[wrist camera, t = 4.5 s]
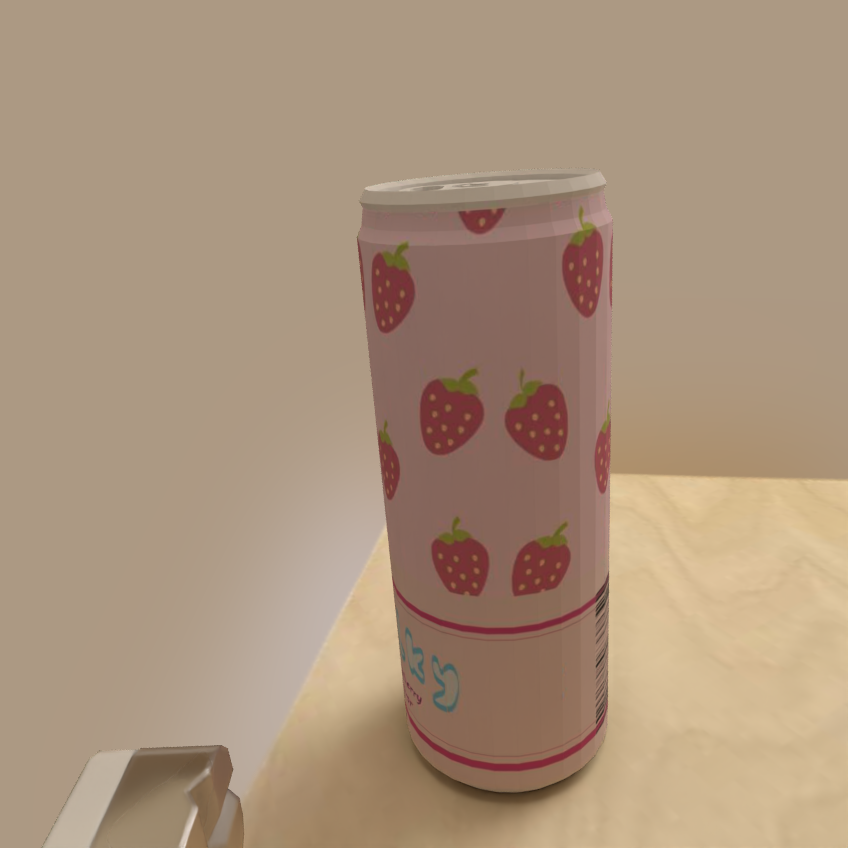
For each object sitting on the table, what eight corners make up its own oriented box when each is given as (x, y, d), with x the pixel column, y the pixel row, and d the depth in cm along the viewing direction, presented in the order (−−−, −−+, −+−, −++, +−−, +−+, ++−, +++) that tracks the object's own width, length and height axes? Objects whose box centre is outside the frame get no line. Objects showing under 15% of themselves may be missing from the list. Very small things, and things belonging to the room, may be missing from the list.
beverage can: (382, 689, 23) (322, 187, 18) (544, 637, 25) (534, 165, 20) (453, 834, 18) (399, 199, 13) (649, 757, 20) (674, 168, 15)
